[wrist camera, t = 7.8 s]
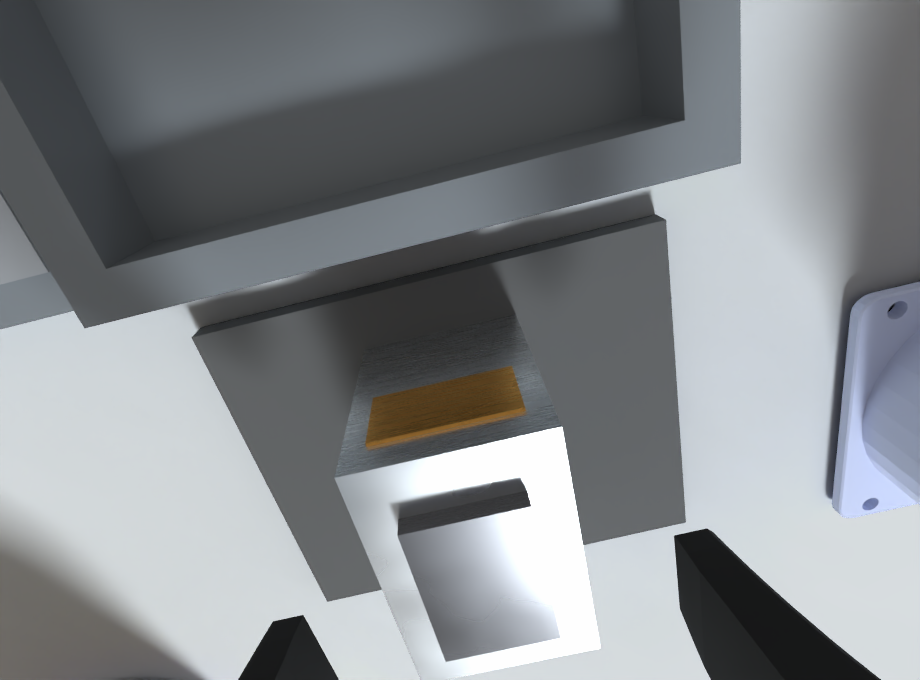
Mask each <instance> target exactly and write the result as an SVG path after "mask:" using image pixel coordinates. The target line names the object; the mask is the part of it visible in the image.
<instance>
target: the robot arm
mask: <svg viewBox="0 0 920 680" xmlns="http://www.w3.org/2000/svg"><path fill="white" fill-rule="evenodd" d="M894 303H895V305H894V307H893V308H892V309H891V310H890V311H889V312H888V310H889V308H890V307H891V306H892V305H893V304H894ZM914 504H919V505H920V282H915V283H911V284H907V285H903V286H899V287H894V288H890V289H886V290H882V291H878V292H873V293H870V294H867V295H865V296H863V297H862V298H860V299H859V300H858V301H857V302H856V303H855V304H854V306H853V307H852V310H851V314H850V323H849V333H848V343H847V354H846V364H845V374H844V385H843V395H842V406H841V416H840V426H839V437H838V447H837V457H836V468H835V478H834V488H833V499H832V506H833V508H834V509H835V510H836V511H837V512H838V513H839V514H840V515H841V516H842V517H845V518H855V517H859V516H864V515H868V514H873V513H878V512H882V511H887V510H891V509H896V508H901V507H905V506H910V505H914ZM674 540H675V553H676V565H677V578H678V590H679V602H680V610H681V612H682V615H683V617H684V619H685V622H686V624H687V627H688V629H689V632H690V634H691V636H692V639H693V641H694V644H695V646H696V648H697V651H698V653H699V655H700V658H701V660H702V662H703V665H704V667H705V669H706V671H707V673H708V675H709V677H710V678H711V680H881V679H879V678H878V677H877V676H876V675H874V674H873V673H872V672H870V671H869V670H868V669H867V668H865V667H864V666H863V665H862V664H860V663H859V662H858V661H857V660H855V659H854V658H853V657H852V656H850V655H849V654H848V653H847V652H846V651H844V650H843V649H842V648H841V647H839V646H838V645H837V644H836V643H835V642H833V641H832V640H831V639H830V638H829V637H827V636H826V635H825V634H824V633H823V632H822V631H820V630H819V629H818V628H817V627H816V626H815V625H813V624H812V623H811V622H810V621H809V620H807V619H806V618H805V617H804V616H803V615H802V614H800V613H799V612H798V611H797V610H796V609H795V608H793V607H792V606H791V605H790V604H789V603H788V602H787V601H786V600H784V599H783V598H782V597H781V596H780V595H779V594H778V593H777V592H775V591H774V590H773V589H772V588H771V587H770V586H769V585H768V584H767V583H766V582H764V581H763V580H762V579H761V578H760V577H759V576H758V575H757V574H756V573H755V572H754V571H753V570H751V569H750V568H749V567H748V566H747V565H746V564H745V563H744V562H743V561H742V560H741V559H740V558H739V557H738V556H737V555H736V554H735V553H734V552H733V551H732V550H731V549H729V548H728V547H727V546H726V545H725V544H724V543H723V542H722V541H721V540H720V539H719V538H718V537H717V536H716V535H715V534H714V533H713V532H712V531H710V530H708V529H703V530H698V531H693V532H689V533H684V534H679V535H675V536H674ZM238 680H338V677H337V675H336V674H335V672H334V670H333V668H332V666H331V665H330V663H329V661H328V659H327V657H326V656H325V654H324V652H323V650H322V648H321V646H320V645H319V643H318V641H317V639H316V637H315V636H314V634H313V632H312V630H311V628H310V627H309V625H308V623H307V621H306V619H305V617H304V616H303V615H301V616H297V617H292V618H287V619H283V620H278V621H273V623H272V624H271V626H270V627H269V629H268V631H267V632H266V634H265V635H264V637H263V639H262V640H261V642H260V644H259V645H258V647H257V649H256V651H255V652H254V654H253V656H252V657H251V659H250V661H249V662H248V664H247V666H246V667H245V669H244V671H243V672H242V674H241V676H240V678H239V679H238Z"/></svg>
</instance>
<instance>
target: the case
mask: <svg viewBox="0 0 920 680" xmlns="http://www.w3.org/2000/svg"><path fill="white" fill-rule="evenodd" d="M740 163H741V59H740V0H0V329H4V328H7V327H11V326H15V325H19V324H23V323H27V322H31V321H35V320H39V319H43V318H47V317H51V316H55V315H59V314H63V313H67V312H71V311H74V312H75V313H76V315H77V317H78V318H79V320H80V321H81V323H82V325H83V326H84V328H88V327H92V326H96V325H100V324H104V323H108V322H112V321H116V320H119V319H123V318H127V317H131V316H135V315H139V314H143V313H147V312H151V311H155V310H159V309H163V308H167V307H171V306H175V305H179V304H183V303H187V302H191V301H195V300H199V299H203V298H207V297H211V296H215V295H219V294H223V293H227V292H231V291H235V290H239V289H243V288H247V287H251V286H255V285H259V284H263V283H267V282H271V281H275V280H279V279H283V278H286V277H290V276H294V275H298V274H302V273H306V272H310V271H314V270H318V269H322V268H326V267H330V266H334V265H338V264H342V263H346V262H350V261H354V260H358V259H362V258H366V257H370V256H374V255H378V254H382V253H386V252H390V251H394V250H398V249H402V248H406V247H410V246H414V245H418V244H422V243H426V242H430V241H434V240H438V239H442V238H446V237H450V236H454V235H457V234H461V233H465V232H469V231H473V230H477V229H481V228H485V227H489V226H493V225H497V224H501V223H505V222H509V221H513V220H517V219H521V218H525V217H529V216H533V215H537V214H541V213H545V212H549V211H553V210H557V209H561V208H565V207H569V206H573V205H577V204H581V203H585V202H589V201H593V200H597V199H601V198H605V197H609V196H613V195H617V194H621V193H624V192H628V191H632V190H636V189H640V188H644V187H648V186H652V185H656V184H660V183H664V182H668V181H672V180H676V179H680V178H684V177H688V176H692V175H696V174H700V173H704V172H708V171H712V170H716V169H720V168H724V167H728V166H732V165H736V164H740Z"/></svg>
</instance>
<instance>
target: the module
mask: <svg viewBox="0 0 920 680" xmlns="http://www.w3.org/2000/svg"><path fill="white" fill-rule="evenodd" d="M335 481H336V483H337V485H338V488H339V490H340V492H341V495H342V497H343V499H344V502H345V504H346V506H347V509H348V511H349V513H350V516H351V518H352V520H353V523H354V525H355V527H356V530H357V532H358V534H359V537H360V539H361V541H362V544H363V546H364V548H365V551H366V553H367V556H368V558H369V560H370V563H371V565H372V567H373V570H374V572H375V574H376V577H377V579H378V581H379V584H380V586H381V588H382V591H383V593H384V595H385V598H386V600H387V602H388V605H389V607H390V609H391V612H392V614H393V616H394V619H395V621H396V623H397V626H398V628H399V630H400V633H401V635H402V637H403V640H404V642H405V644H406V647H407V649H408V652H409V654H410V656H411V659H412V661H413V663H414V666H415V668H416V670H417V673H418V675H419V677H420V680H449V679H454V678H459V677H463V676H468V675H473V674H478V673H483V672H488V671H492V670H497V669H502V668H507V667H512V666H517V665H522V664H526V663H531V662H536V661H541V660H546V659H551V658H555V657H560V656H565V655H570V654H575V653H580V652H585V651H589V650H594V649H599V648H600V642H599V637H598V631H597V625H596V619H595V614H594V608H593V602H592V597H591V591H590V585H589V579H588V574H587V568H586V562H585V556H584V551H583V545H582V539H581V534H580V528H579V522H578V516H577V511H576V505H575V499H574V494H573V488H572V482H571V476H570V471H569V465H568V459H567V453H566V448H565V442H564V436H563V431H562V426H561V424H560V421H559V419H558V416H557V414H556V411H555V409H554V406H553V404H552V402H551V399H550V397H549V394H548V392H547V389H546V387H545V385H544V382H543V380H542V377H541V375H540V372H539V370H538V367H537V365H536V363H535V360H534V358H533V355H532V353H531V350H530V348H529V345H528V343H527V341H526V338H525V336H524V333H523V331H522V328H521V326H520V323H519V321H518V319H517V316H516V314H515V315H510V316H506V317H502V318H498V319H493V320H489V321H485V322H481V323H476V324H472V325H468V326H464V327H459V328H455V329H451V330H447V331H442V332H438V333H434V334H430V335H425V336H421V337H417V338H413V339H408V340H404V341H400V342H396V343H391V344H387V345H383V346H379V347H374V348H370V349H366V350H364V354H363V358H362V363H361V367H360V371H359V375H358V380H357V384H356V388H355V392H354V397H353V401H352V405H351V410H350V414H349V418H348V422H347V427H346V431H345V435H344V439H343V444H342V448H341V452H340V457H339V461H338V465H337V469H336V474H335Z"/></svg>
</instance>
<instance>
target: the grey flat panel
mask: <svg viewBox="0 0 920 680" xmlns="http://www.w3.org/2000/svg"><path fill="white" fill-rule="evenodd" d="M515 314H516V316H517V319H518V321H519V323H520V326H521V328H522V331H523V333H524V336H525V338H526V341H527V343H528V345H529V348H530V350H531V353H532V355H533V358H534V360H535V363H536V365H537V367H538V370H539V372H540V375H541V377H542V380H543V382H544V385H545V387H546V389H547V392H548V394H549V397H550V399H551V402H552V404H553V406H554V409H555V411H556V414H557V416H558V419H559V421H560V424H561V426H562V431H563V436H564V442H565V448H566V453H567V459H568V465H569V471H570V476H571V482H572V488H573V494H574V499H575V505H576V511H577V516H578V522H579V528H580V534H581V539H582V545H586V544H590V543H595V542H599V541H604V540H608V539H613V538H617V537H622V536H626V535H631V534H635V533H640V532H644V531H649V530H653V529H658V528H663V527H667V526H672V525H676V524H681V523H685V522H686V519H685V503H684V488H683V473H682V458H681V443H680V427H679V412H678V397H677V382H676V367H675V351H674V336H673V321H672V306H671V291H670V275H669V260H668V245H667V230H666V220H665V219H663V218H661V217H659V216H657V215H653V216H649V217H644V218H640V219H636V220H632V221H628V222H624V223H620V224H616V225H612V226H608V227H604V228H600V229H596V230H592V231H588V232H584V233H580V234H576V235H572V236H568V237H564V238H560V239H556V240H552V241H548V242H544V243H540V244H536V245H532V246H528V247H524V248H520V249H516V250H512V251H508V252H504V253H500V254H496V255H492V256H488V257H484V258H480V259H476V260H472V261H468V262H464V263H460V264H456V265H452V266H448V267H444V268H440V269H436V270H432V271H427V272H423V273H419V274H415V275H411V276H407V277H403V278H399V279H395V280H391V281H387V282H383V283H379V284H375V285H371V286H367V287H363V288H359V289H355V290H351V291H347V292H343V293H339V294H335V295H331V296H327V297H323V298H319V299H315V300H311V301H307V302H303V303H299V304H295V305H291V306H287V307H283V308H279V309H275V310H271V311H267V312H263V313H259V314H255V315H251V316H247V317H243V318H239V319H235V320H231V321H227V322H223V323H219V324H214V325H210V326H206V327H202V328H200V329H199V330H198V331H197V333H196V334H195V335H194V336H193V337H192V339H193V341H194V343H195V345H196V347H197V349H198V351H199V353H200V355H201V357H202V359H203V361H204V363H205V365H206V366H207V368H208V370H209V372H210V374H211V376H212V378H213V380H214V382H215V384H216V386H217V388H218V390H219V392H220V394H221V396H222V398H223V400H224V401H225V403H226V405H227V407H228V409H229V411H230V413H231V415H232V417H233V419H234V421H235V423H236V425H237V427H238V429H239V431H240V433H241V435H242V436H243V438H244V440H245V442H246V444H247V446H248V448H249V450H250V452H251V454H252V456H253V458H254V460H255V462H256V464H257V466H258V468H259V470H260V472H261V473H262V475H263V477H264V479H265V481H266V483H267V485H268V487H269V489H270V491H271V493H272V495H273V497H274V499H275V501H276V503H277V505H278V507H279V508H280V510H281V512H282V514H283V516H284V518H285V520H286V522H287V524H288V526H289V528H290V530H291V532H292V534H293V536H294V538H295V540H296V542H297V543H298V545H299V547H300V549H301V551H302V553H303V555H304V557H305V559H306V561H307V563H308V565H309V567H310V569H311V571H312V573H313V575H314V577H315V579H316V580H317V582H318V584H319V586H320V588H321V590H322V592H323V594H324V596H325V598H326V600H327V602H328V601H332V600H337V599H341V598H346V597H350V596H355V595H359V594H364V593H369V592H373V591H378V590H382V588H381V586H380V584H379V581H378V579H377V577H376V574H375V572H374V570H373V567H372V565H371V563H370V560H369V558H368V556H367V553H366V551H365V548H364V546H363V544H362V541H361V539H360V537H359V534H358V532H357V530H356V527H355V525H354V523H353V520H352V518H351V516H350V513H349V511H348V509H347V506H346V504H345V502H344V499H343V497H342V495H341V492H340V490H339V488H338V485H337V483H336V481H335V474H336V469H337V465H338V461H339V457H340V452H341V448H342V444H343V439H344V435H345V431H346V427H347V422H348V418H349V414H350V410H351V405H352V401H353V397H354V392H355V388H356V384H357V380H358V375H359V371H360V367H361V363H362V358H363V354H364V350H366V349H370V348H374V347H379V346H383V345H387V344H391V343H396V342H400V341H404V340H408V339H413V338H417V337H421V336H425V335H430V334H434V333H438V332H442V331H447V330H451V329H455V328H459V327H464V326H468V325H472V324H476V323H481V322H485V321H489V320H493V319H498V318H502V317H506V316H510V315H515Z"/></svg>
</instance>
